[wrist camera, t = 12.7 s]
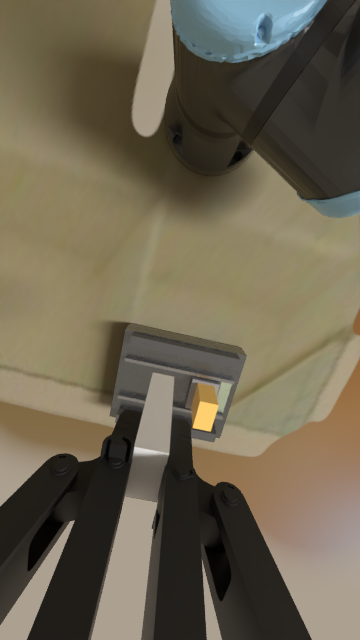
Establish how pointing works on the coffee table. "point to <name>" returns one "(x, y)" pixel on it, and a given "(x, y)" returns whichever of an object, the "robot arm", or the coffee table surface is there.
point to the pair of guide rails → (190, 353)
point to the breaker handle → (203, 402)
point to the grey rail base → (172, 374)
